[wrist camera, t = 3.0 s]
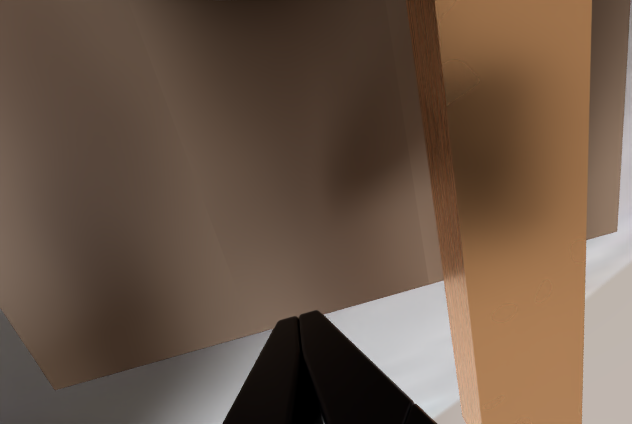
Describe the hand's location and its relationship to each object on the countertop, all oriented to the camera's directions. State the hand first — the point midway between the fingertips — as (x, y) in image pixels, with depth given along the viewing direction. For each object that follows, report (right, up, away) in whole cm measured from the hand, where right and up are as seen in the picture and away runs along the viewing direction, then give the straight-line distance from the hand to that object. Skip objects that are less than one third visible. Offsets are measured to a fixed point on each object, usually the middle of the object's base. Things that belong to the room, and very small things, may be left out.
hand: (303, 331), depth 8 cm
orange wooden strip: (+2, +9, -2) cm, 9 cm away
